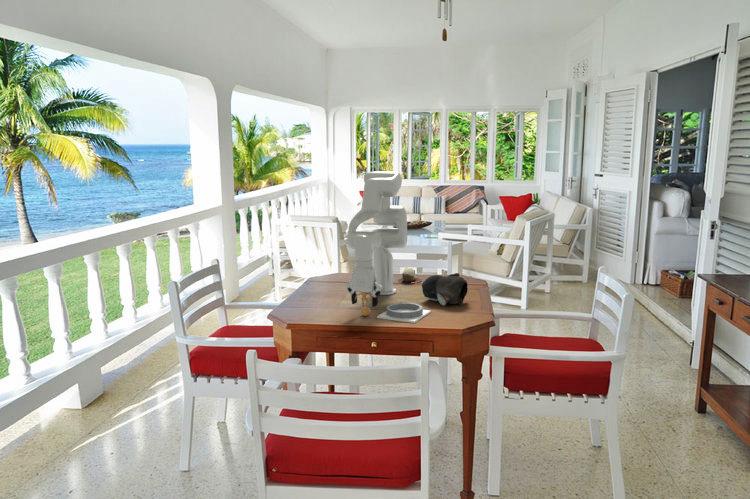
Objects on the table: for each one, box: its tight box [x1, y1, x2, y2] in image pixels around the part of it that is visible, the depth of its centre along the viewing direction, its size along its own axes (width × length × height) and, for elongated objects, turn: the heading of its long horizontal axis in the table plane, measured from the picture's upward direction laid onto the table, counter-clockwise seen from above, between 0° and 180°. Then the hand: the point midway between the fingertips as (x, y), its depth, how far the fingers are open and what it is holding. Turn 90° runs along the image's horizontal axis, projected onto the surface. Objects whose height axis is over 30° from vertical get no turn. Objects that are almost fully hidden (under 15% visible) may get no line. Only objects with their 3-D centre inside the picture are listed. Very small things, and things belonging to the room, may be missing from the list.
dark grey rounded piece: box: [421, 272, 469, 306], centre depth 259 cm, size 20×21×13 cm
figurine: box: [355, 292, 373, 317], centre depth 238 cm, size 8×6×12 cm
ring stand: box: [376, 302, 432, 324], centre depth 240 cm, size 17×17×3 cm
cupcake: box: [397, 266, 422, 284], centre depth 302 cm, size 12×10×10 cm
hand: (364, 304), depth 238 cm, fingers open, 9 cm apart
